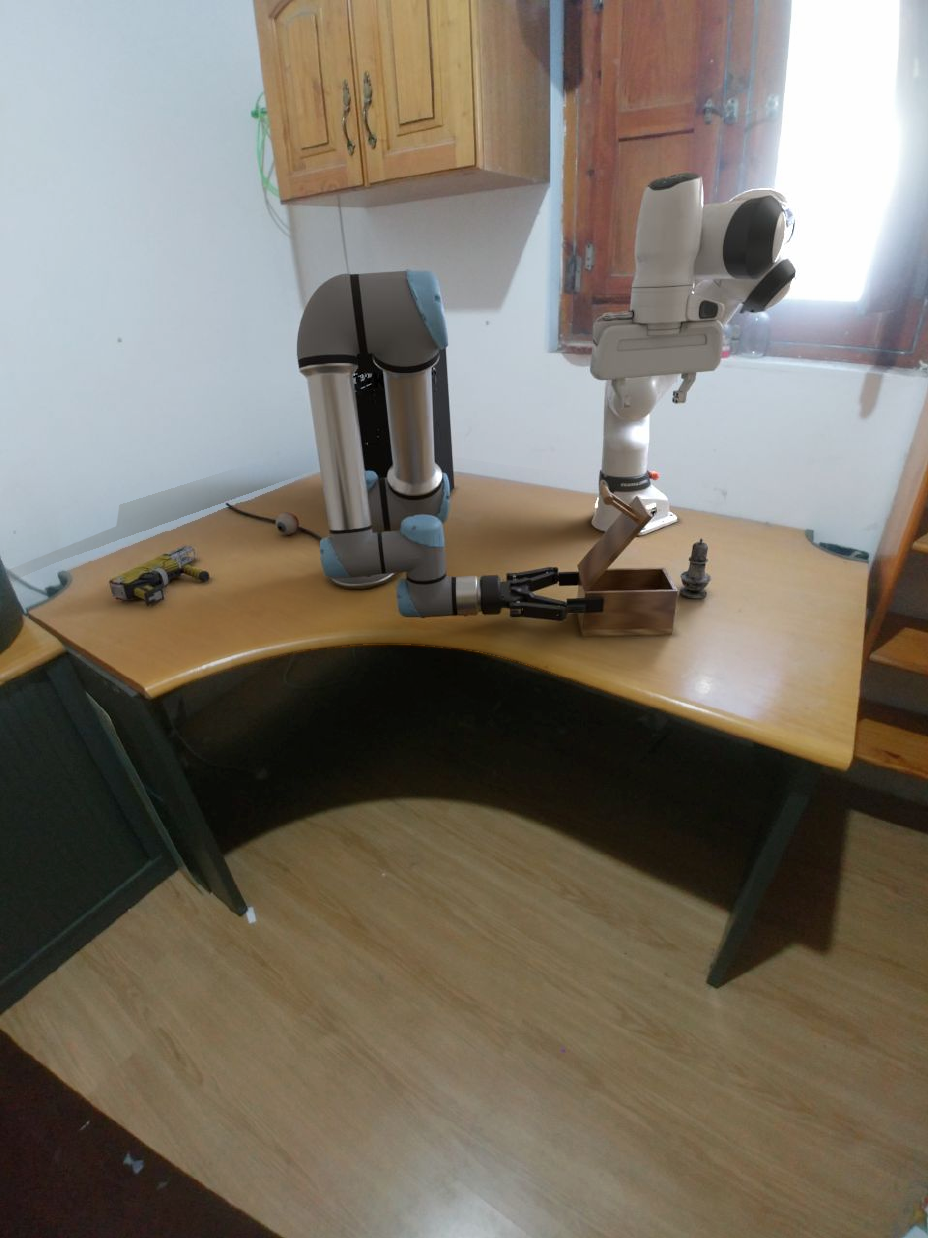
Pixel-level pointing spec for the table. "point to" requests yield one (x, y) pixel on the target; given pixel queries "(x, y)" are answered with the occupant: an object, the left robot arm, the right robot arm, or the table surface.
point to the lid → (613, 537)
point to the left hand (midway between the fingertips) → (597, 590)
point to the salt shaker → (696, 572)
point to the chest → (631, 603)
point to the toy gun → (155, 576)
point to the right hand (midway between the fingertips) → (651, 405)
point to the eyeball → (287, 523)
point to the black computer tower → (376, 417)
